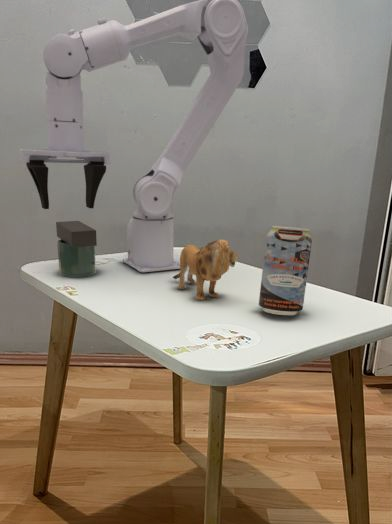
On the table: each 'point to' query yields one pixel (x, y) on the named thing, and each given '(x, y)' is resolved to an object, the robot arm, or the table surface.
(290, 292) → the beverage can
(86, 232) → the black bar
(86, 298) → the table surface
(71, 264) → the cup
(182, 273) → the lion figurine
